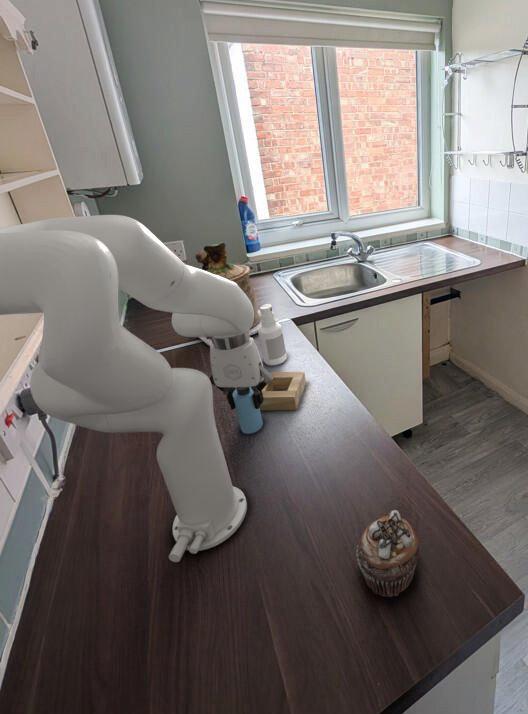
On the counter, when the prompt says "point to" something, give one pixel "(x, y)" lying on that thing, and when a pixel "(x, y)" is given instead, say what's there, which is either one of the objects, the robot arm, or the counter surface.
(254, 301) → the cookie jar
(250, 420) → the bottle
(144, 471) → the counter surface
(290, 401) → the square wooden frame
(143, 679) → the counter surface
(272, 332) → the spray bottle
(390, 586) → the cupcake
